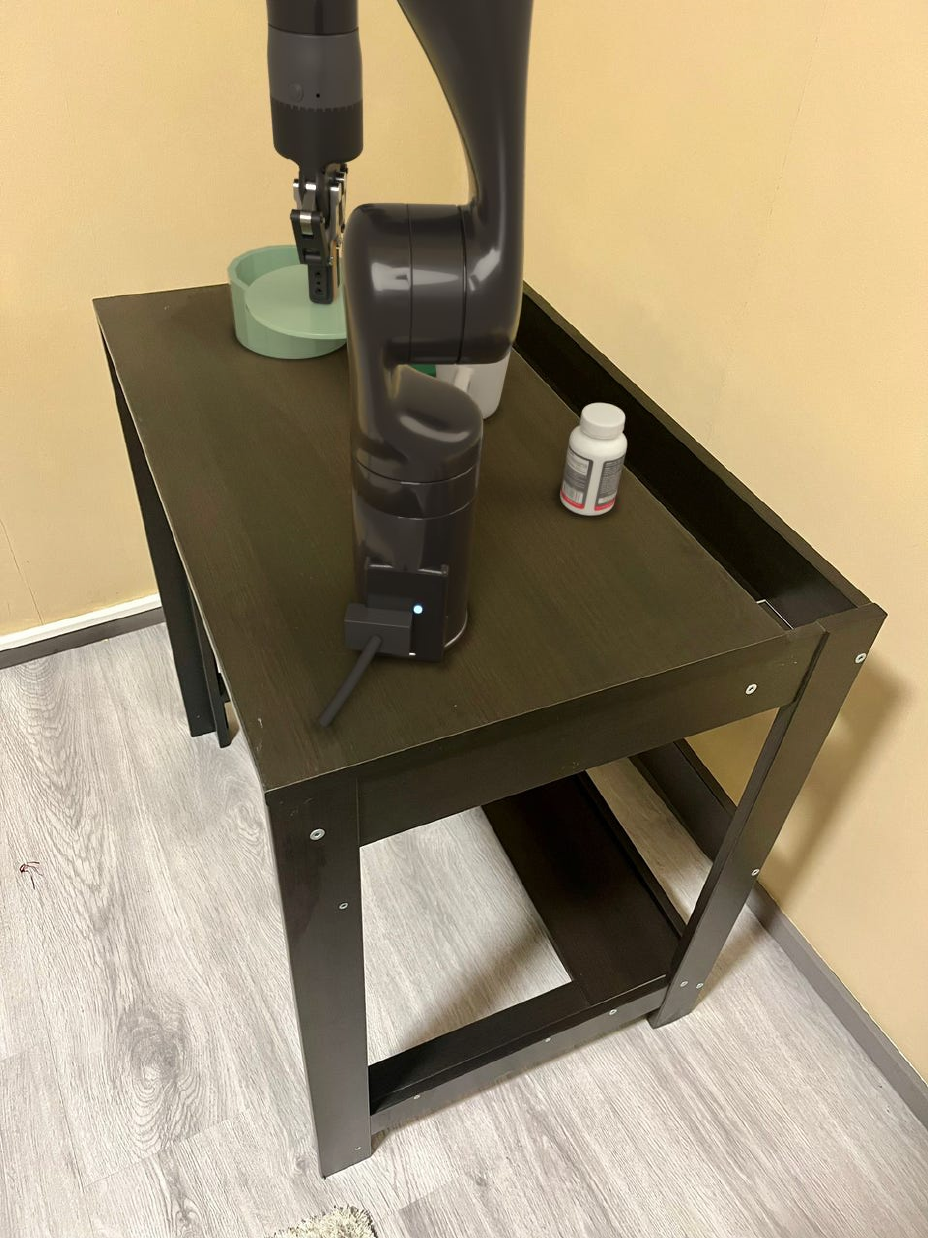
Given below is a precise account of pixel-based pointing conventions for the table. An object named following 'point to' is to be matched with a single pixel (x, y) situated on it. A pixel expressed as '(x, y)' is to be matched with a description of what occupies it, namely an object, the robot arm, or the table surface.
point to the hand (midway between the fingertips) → (325, 293)
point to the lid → (296, 304)
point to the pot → (252, 331)
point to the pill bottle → (594, 460)
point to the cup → (477, 382)
